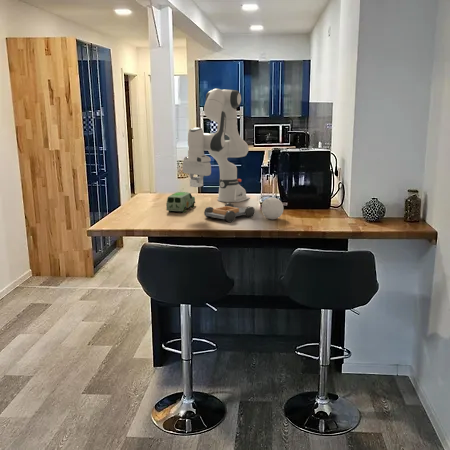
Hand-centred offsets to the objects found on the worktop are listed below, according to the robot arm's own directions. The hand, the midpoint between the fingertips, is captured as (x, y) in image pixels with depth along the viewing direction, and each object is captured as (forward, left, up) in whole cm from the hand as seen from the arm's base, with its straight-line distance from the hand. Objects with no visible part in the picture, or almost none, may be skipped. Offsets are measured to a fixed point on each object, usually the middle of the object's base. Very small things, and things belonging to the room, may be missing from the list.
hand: (196, 182), depth 285 cm
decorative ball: (-22, +37, -19) cm, 47 cm away
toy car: (-6, -21, -19) cm, 29 cm away
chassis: (-9, +17, -19) cm, 27 cm away
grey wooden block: (0, 0, -2) cm, 2 cm away
